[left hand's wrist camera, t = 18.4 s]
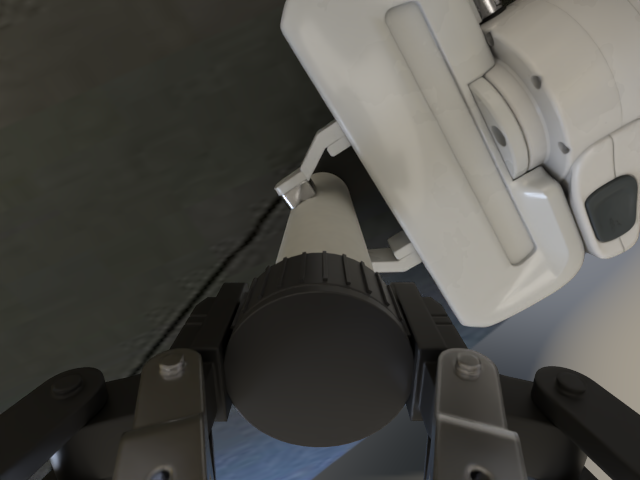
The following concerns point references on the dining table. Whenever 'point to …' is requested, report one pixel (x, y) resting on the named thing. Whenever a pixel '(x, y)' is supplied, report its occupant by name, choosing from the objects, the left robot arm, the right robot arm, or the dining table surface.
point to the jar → (325, 223)
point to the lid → (319, 352)
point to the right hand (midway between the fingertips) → (310, 235)
